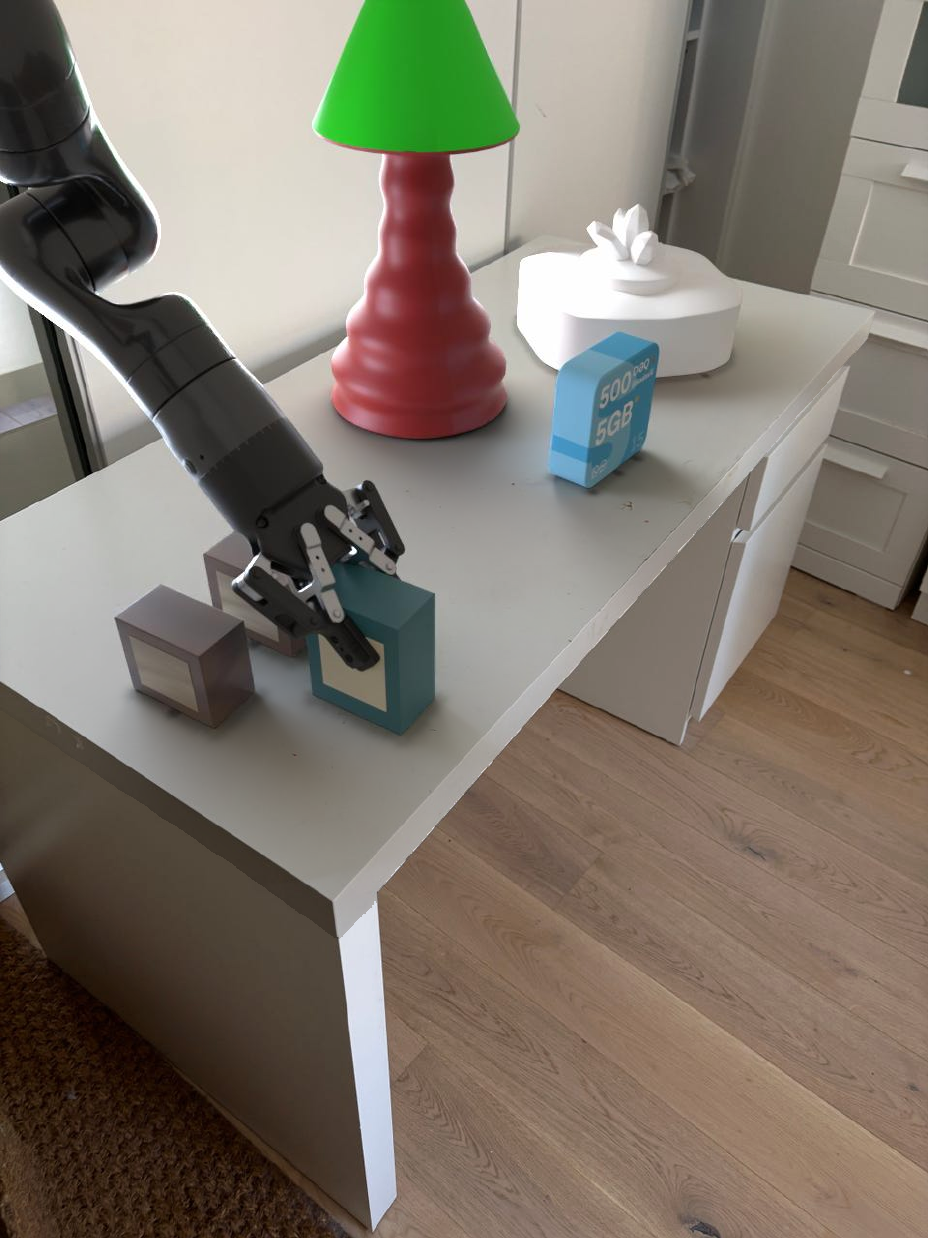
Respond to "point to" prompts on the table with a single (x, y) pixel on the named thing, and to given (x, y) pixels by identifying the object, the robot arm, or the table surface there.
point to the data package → (602, 408)
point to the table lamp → (417, 219)
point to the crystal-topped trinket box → (628, 298)
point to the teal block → (380, 649)
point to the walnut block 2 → (221, 571)
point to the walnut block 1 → (186, 654)
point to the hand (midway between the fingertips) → (392, 643)
